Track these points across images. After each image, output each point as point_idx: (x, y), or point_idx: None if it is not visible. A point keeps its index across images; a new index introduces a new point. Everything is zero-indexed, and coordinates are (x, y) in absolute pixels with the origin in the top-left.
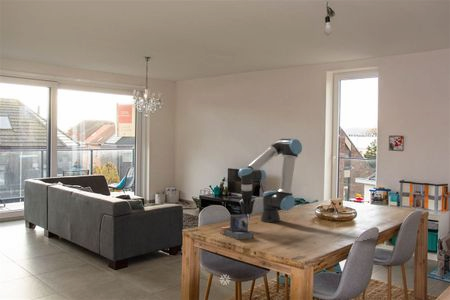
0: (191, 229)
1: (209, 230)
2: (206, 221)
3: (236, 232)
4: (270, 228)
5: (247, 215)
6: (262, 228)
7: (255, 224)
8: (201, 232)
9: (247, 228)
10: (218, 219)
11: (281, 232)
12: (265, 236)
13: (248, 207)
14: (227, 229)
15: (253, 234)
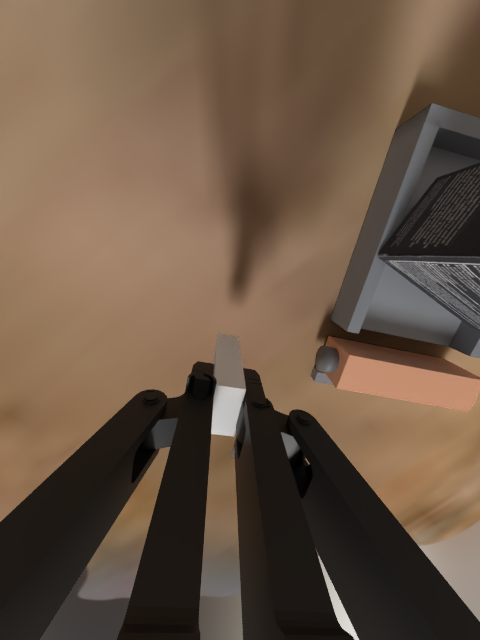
0: (423, 534)
1: (391, 472)
2: (231, 592)
3: (393, 307)
4: (28, 224)
5: (244, 385)
6: (90, 277)
7: (42, 395)
8: (455, 470)
9: (472, 166)
10: None
11: (47, 14)
12: (302, 53)
13: (202, 516)
14: (439, 366)
15: (417, 115)
